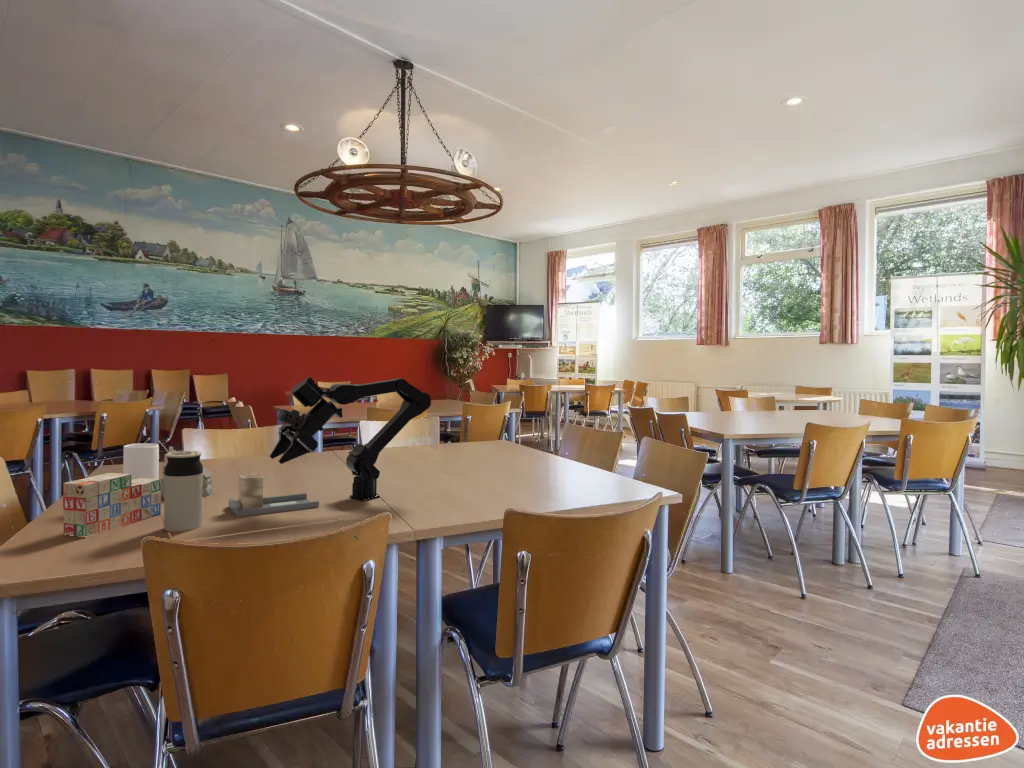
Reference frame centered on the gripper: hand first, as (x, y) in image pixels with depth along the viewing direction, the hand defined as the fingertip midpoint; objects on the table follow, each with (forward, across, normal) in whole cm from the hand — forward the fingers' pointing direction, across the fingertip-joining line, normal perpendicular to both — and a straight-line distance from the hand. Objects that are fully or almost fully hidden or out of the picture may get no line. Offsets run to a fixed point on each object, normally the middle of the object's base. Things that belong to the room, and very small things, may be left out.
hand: (275, 460), depth 160 cm
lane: (+10, 0, +9) cm, 13 cm away
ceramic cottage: (+21, -31, -2) cm, 38 cm away
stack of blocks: (+35, -3, -16) cm, 39 cm away
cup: (+30, -24, -11) cm, 40 cm away
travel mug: (+26, +8, -7) cm, 28 cm away
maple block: (+13, 0, +5) cm, 14 cm away
